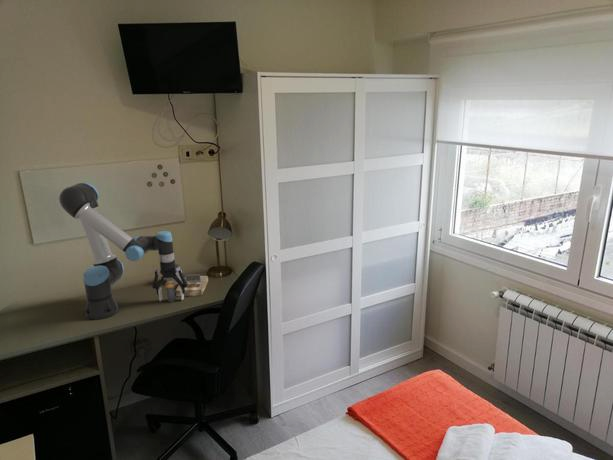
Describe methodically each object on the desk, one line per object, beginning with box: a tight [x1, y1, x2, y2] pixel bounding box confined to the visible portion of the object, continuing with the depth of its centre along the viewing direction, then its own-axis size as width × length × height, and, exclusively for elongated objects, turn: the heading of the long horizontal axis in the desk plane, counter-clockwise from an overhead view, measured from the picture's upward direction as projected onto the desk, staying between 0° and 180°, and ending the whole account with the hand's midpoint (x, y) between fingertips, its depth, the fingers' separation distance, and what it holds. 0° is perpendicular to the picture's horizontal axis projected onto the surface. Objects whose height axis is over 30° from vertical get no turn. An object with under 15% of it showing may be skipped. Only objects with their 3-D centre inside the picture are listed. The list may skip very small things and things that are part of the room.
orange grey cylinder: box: [164, 281, 177, 303], centre depth 242 cm, size 5×5×10 cm
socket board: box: [175, 275, 209, 297], centre depth 258 cm, size 14×20×4 cm
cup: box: [166, 263, 182, 286], centre depth 267 cm, size 8×8×10 cm
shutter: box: [182, 273, 205, 283], centre depth 260 cm, size 12×7×3 cm, turn 92°
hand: (171, 299), depth 244 cm, fingers open, 11 cm apart
